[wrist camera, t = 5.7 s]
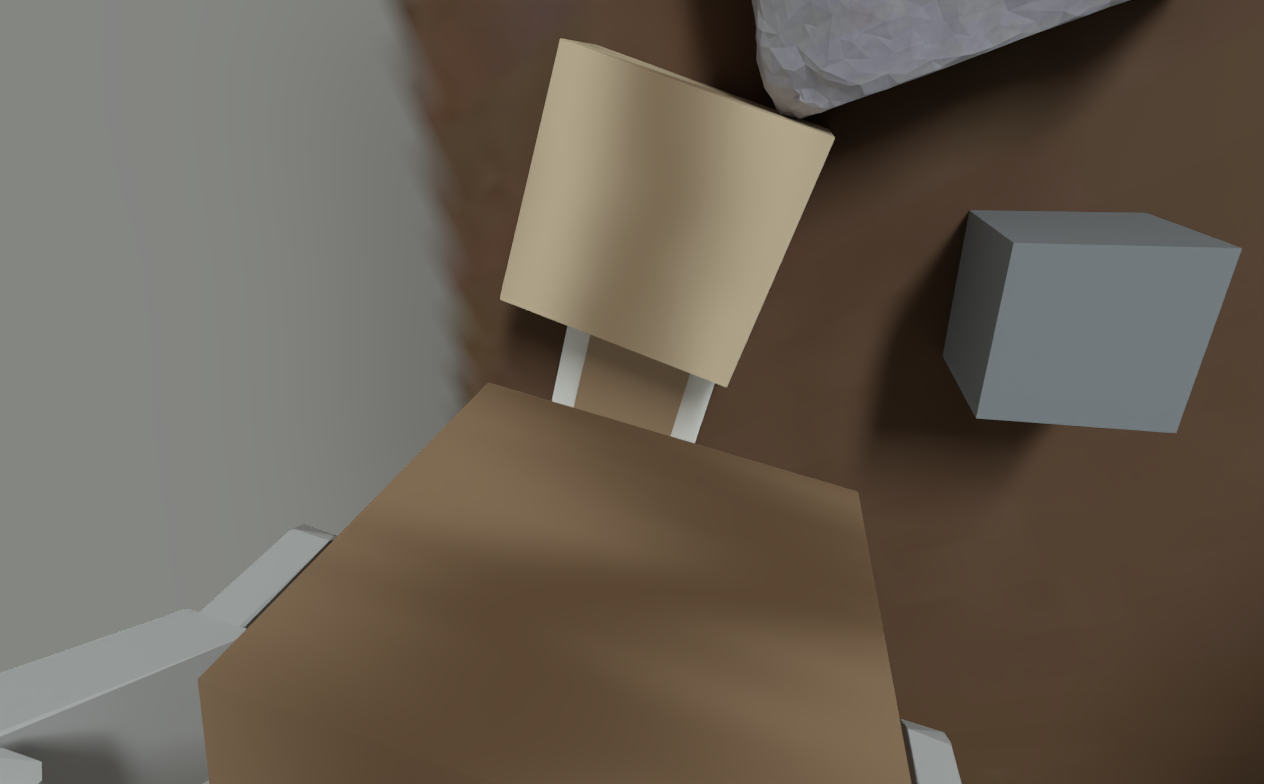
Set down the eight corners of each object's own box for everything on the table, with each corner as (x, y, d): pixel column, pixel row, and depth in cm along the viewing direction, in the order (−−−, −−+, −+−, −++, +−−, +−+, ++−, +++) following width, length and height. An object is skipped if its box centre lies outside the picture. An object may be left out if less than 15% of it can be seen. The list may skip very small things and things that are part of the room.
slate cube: (1145, 212, 20) (1242, 248, 16) (1101, 364, 23) (1176, 433, 18) (968, 209, 22) (1013, 242, 17) (942, 355, 24) (976, 418, 19)
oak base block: (828, 128, 22) (835, 137, 18) (736, 344, 25) (726, 387, 22) (597, 44, 22) (560, 38, 18) (540, 269, 26) (499, 299, 22)
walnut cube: (858, 491, 9) (940, 939, 4) (744, 741, 11) (718, 1206, 6) (488, 382, 9) (196, 679, 4) (453, 644, 11) (237, 1015, 7)
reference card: (727, 344, 25) (725, 351, 24) (684, 473, 28) (681, 482, 27) (575, 297, 26) (570, 303, 25) (548, 429, 28) (542, 436, 28)
